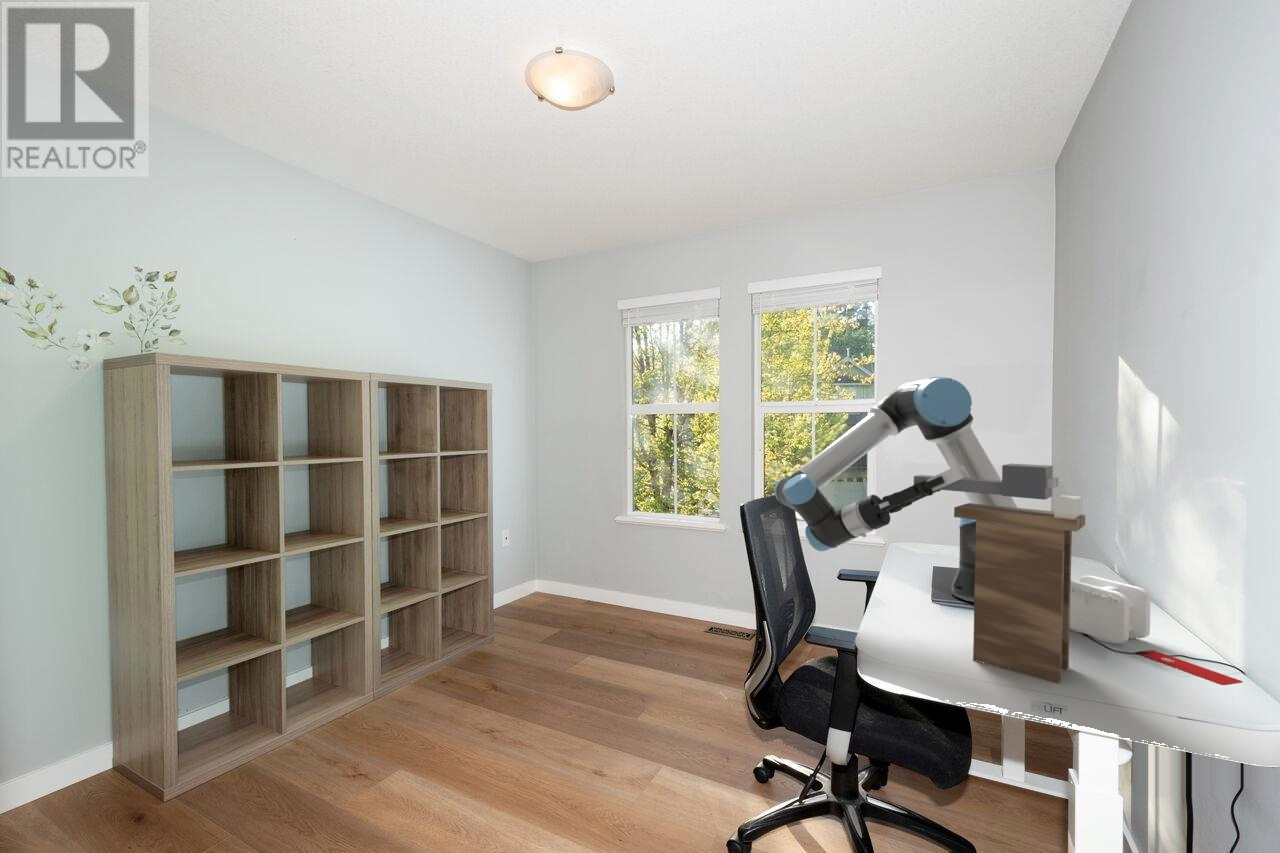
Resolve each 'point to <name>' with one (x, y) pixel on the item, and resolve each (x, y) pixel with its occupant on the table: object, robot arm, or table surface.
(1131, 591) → the cable organizer
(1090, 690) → the table surface
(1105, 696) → the table surface
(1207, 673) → the electronic device
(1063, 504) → the white rectangular block
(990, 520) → the shelf
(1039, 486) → the grey t-shaped block
